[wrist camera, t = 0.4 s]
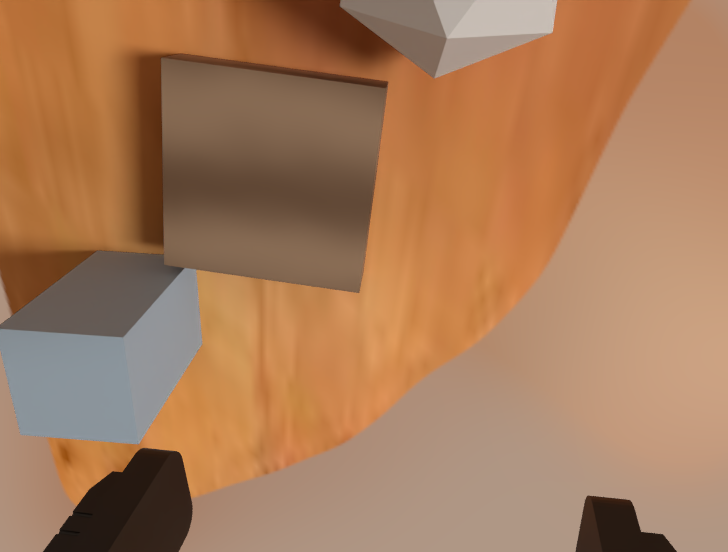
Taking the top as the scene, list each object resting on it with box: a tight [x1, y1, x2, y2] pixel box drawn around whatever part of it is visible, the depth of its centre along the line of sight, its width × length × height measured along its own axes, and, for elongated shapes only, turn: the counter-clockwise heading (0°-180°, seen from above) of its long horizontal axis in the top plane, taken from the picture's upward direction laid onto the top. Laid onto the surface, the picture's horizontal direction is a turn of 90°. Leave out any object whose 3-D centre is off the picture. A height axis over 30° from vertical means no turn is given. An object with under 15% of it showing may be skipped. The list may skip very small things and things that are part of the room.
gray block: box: [0, 251, 202, 444], centre depth 31 cm, size 6×6×9 cm
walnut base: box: [161, 54, 388, 293], centre depth 30 cm, size 10×10×3 cm
